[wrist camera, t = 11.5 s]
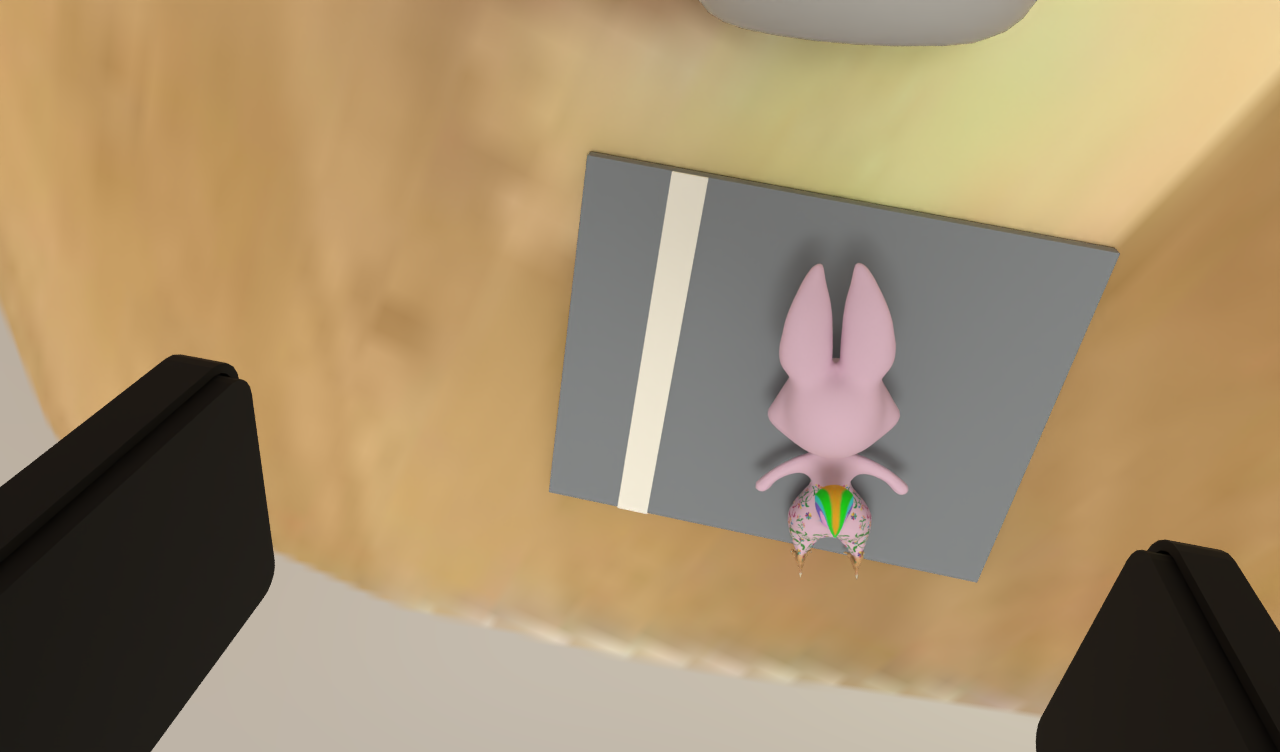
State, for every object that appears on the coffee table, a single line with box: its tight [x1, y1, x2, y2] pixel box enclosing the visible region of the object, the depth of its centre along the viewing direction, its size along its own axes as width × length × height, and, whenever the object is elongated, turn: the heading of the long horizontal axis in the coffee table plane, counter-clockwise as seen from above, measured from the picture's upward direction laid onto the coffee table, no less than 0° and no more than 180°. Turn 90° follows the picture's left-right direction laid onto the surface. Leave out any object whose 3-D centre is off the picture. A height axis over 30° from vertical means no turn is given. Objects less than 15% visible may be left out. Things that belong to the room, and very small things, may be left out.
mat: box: [549, 151, 1120, 582], centre depth 37 cm, size 16×20×1 cm
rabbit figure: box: [756, 263, 908, 579], centre depth 34 cm, size 6×6×15 cm
